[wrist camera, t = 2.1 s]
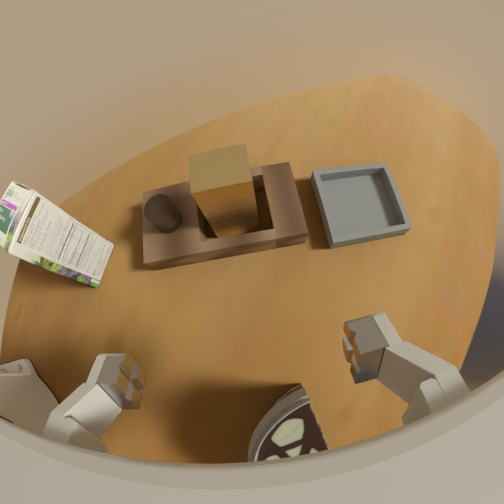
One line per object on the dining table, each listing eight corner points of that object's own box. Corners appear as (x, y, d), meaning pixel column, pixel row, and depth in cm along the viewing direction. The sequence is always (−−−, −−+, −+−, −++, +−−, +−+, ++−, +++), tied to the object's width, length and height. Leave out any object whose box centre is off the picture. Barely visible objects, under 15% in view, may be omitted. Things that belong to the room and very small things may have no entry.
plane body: (155, 270, 28) (129, 255, 22) (153, 204, 30) (130, 179, 25) (304, 242, 28) (312, 220, 22) (288, 176, 30) (290, 144, 24)
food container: (235, 392, 24) (214, 425, 14) (294, 369, 24) (306, 393, 15) (281, 483, 20) (282, 539, 11) (335, 463, 21) (359, 513, 11)
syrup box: (70, 272, 29) (-15, 236, 15) (86, 230, 30) (9, 178, 16) (98, 288, 28) (5, 255, 14) (117, 242, 29) (33, 187, 16)
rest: (329, 248, 27) (333, 242, 25) (310, 180, 29) (312, 170, 28) (404, 234, 27) (411, 227, 25) (381, 171, 29) (386, 162, 27)
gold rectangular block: (217, 238, 28) (190, 193, 19) (214, 208, 29) (188, 155, 20) (260, 230, 28) (252, 180, 19) (254, 200, 29) (245, 143, 20)
